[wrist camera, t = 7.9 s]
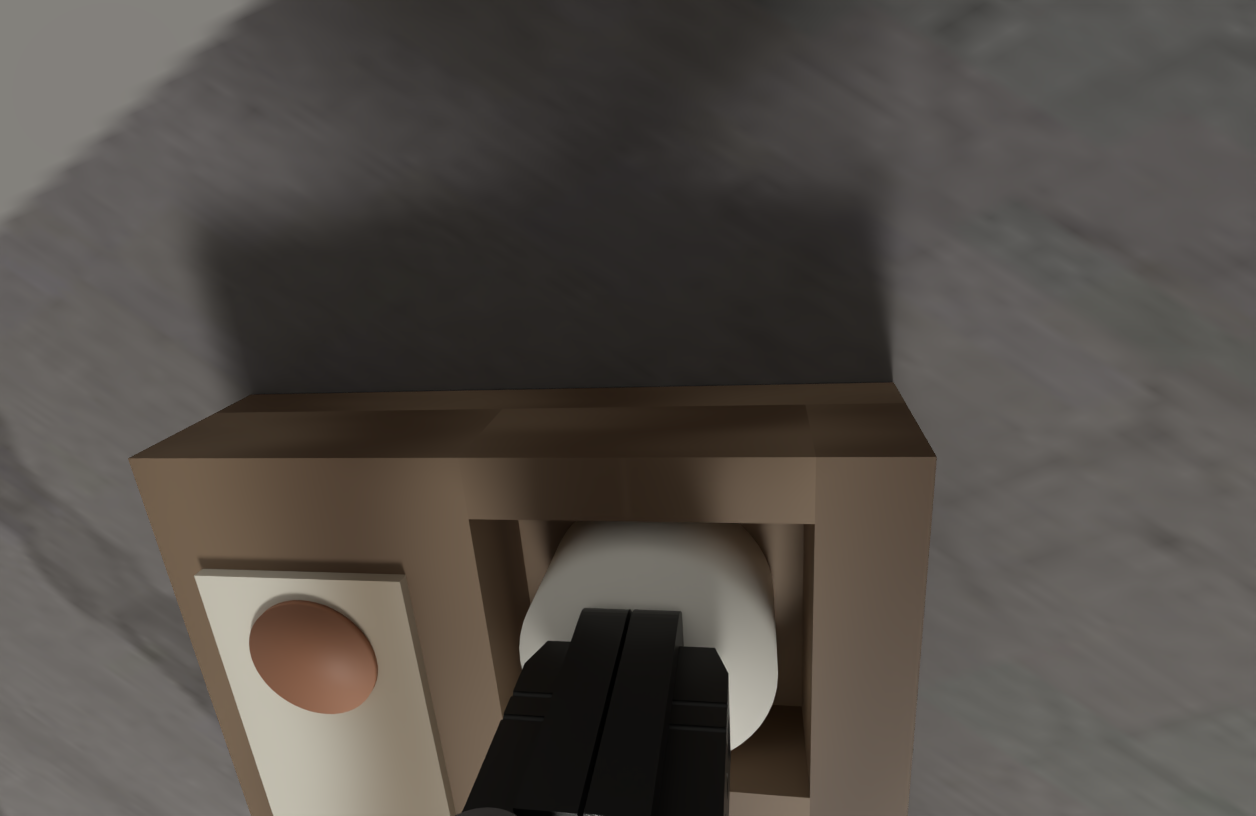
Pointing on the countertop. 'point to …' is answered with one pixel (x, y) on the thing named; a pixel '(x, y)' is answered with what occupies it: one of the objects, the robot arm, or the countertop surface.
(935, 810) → the countertop surface
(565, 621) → the button
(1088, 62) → the countertop surface
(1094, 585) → the countertop surface
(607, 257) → the countertop surface
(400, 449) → the button panel
